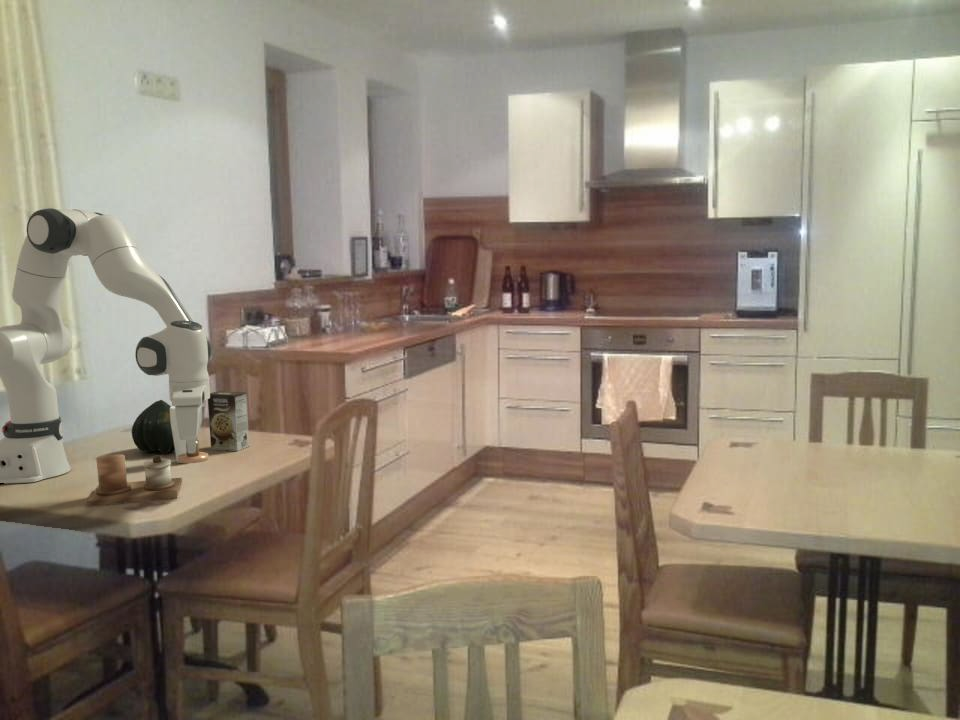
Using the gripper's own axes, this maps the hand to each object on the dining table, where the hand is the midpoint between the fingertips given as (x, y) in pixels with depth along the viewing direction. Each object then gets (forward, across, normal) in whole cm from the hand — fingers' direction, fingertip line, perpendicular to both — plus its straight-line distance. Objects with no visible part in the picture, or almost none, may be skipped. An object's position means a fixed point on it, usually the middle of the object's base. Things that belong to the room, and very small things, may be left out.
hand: (192, 450), depth 200 cm
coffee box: (+11, -45, +7) cm, 47 cm away
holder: (+10, -4, -13) cm, 17 cm away
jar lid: (+2, 0, 0) cm, 2 cm away
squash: (+11, -49, -12) cm, 52 cm away
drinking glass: (+11, -33, -4) cm, 35 cm away
